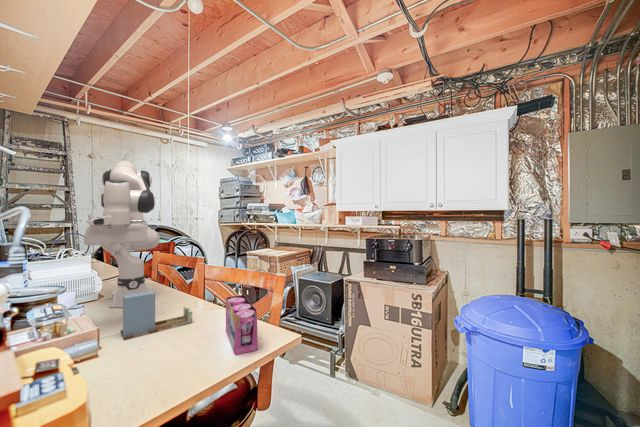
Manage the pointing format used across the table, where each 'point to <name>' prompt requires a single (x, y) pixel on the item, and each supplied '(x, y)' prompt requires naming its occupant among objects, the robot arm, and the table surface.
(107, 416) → the table surface
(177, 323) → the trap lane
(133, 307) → the pillar block
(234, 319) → the gum box
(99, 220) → the robot arm
